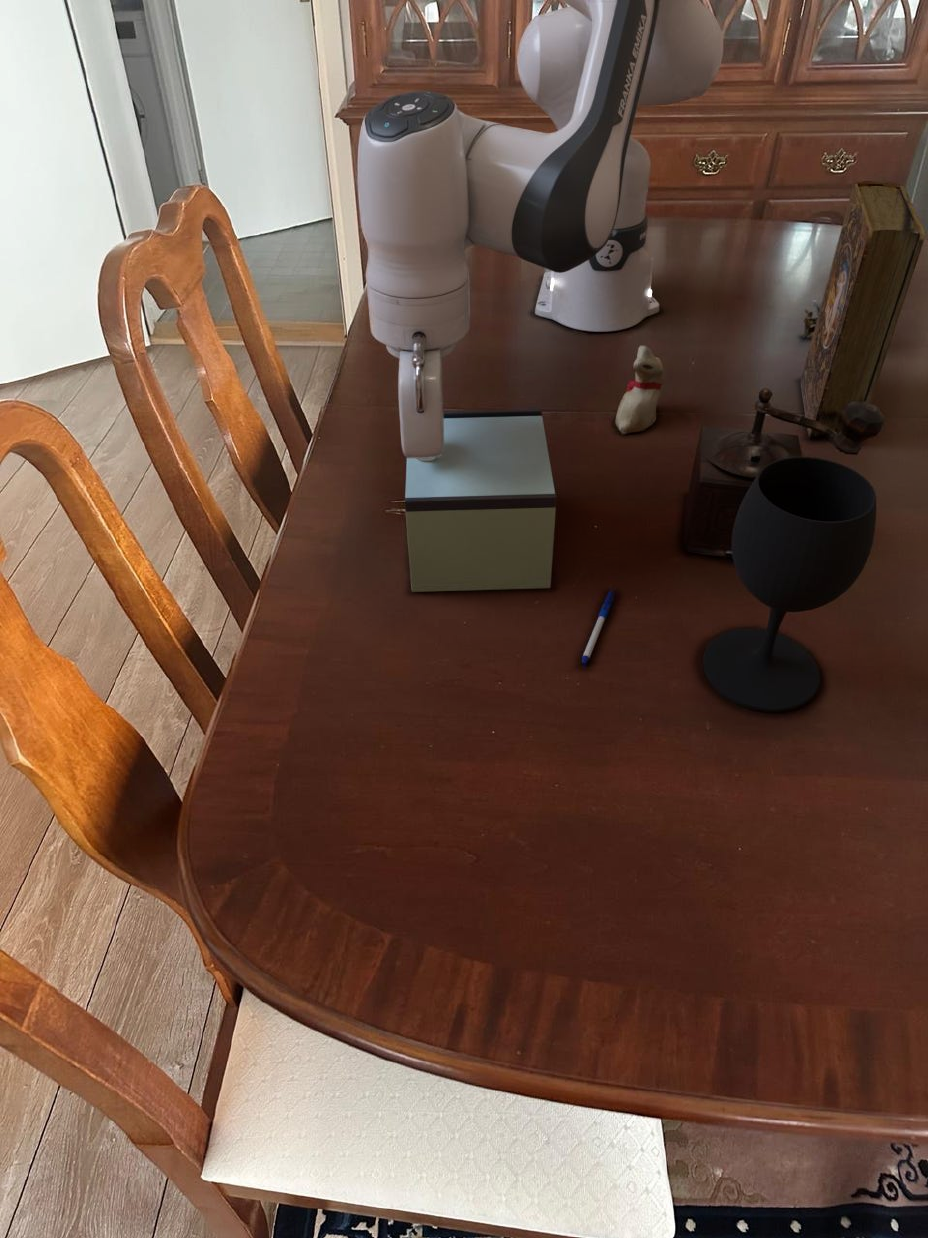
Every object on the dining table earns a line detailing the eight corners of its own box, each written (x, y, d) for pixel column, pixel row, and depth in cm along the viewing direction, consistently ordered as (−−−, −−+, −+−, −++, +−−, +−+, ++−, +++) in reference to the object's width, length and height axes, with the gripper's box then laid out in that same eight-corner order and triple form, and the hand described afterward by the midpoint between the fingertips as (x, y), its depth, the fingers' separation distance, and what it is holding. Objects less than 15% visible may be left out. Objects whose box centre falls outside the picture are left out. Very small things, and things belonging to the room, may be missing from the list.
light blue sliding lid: (408, 424, 94) (406, 393, 91) (541, 420, 94) (543, 389, 91) (405, 502, 84) (403, 470, 81) (554, 498, 84) (557, 466, 81)
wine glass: (753, 729, 76) (812, 546, 63) (678, 653, 83) (716, 472, 69) (845, 686, 80) (919, 503, 66) (765, 616, 86) (818, 437, 73)
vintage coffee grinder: (682, 556, 93) (712, 402, 81) (685, 495, 101) (713, 346, 89) (837, 574, 91) (892, 418, 78) (828, 510, 99) (877, 359, 86)
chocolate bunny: (675, 419, 113) (687, 345, 106) (626, 437, 110) (635, 362, 103) (647, 400, 116) (657, 327, 110) (598, 417, 114) (606, 343, 107)
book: (799, 377, 120) (852, 179, 103) (842, 380, 119) (902, 181, 102) (808, 442, 109) (869, 231, 91) (855, 446, 108) (926, 234, 91)
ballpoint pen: (606, 593, 89) (607, 586, 89) (615, 595, 89) (616, 588, 88) (580, 665, 82) (580, 658, 82) (589, 668, 82) (590, 660, 81)
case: (414, 498, 101) (408, 411, 94) (537, 495, 102) (541, 407, 94) (411, 592, 90) (404, 501, 82) (550, 588, 90) (556, 497, 82)
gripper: (457, 365, 70) (461, 508, 80) (453, 262, 85) (457, 393, 95) (377, 367, 70) (390, 510, 80) (387, 264, 85) (397, 394, 95)
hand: (426, 445), depth 87 cm, fingers closed on light blue sliding lid, 2 cm apart
